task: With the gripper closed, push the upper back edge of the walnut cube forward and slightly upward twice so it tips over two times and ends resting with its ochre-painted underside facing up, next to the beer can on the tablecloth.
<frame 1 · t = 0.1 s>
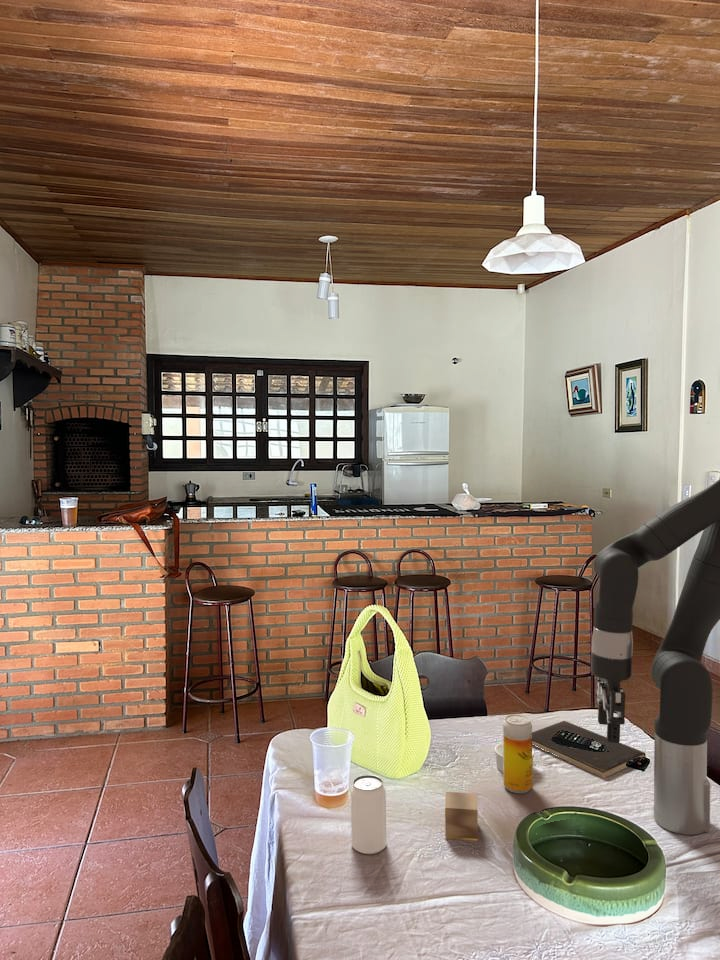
hand: (608, 732, 134), 17 cm above the table, tool pointing down, fingers open, 8 cm apart
hardcover book: (582, 753, 164), on the table
cube: (461, 830, 131), on the table
ramekin: (514, 769, 156), on the table
can: (369, 846, 127), on the table
beer can: (517, 788, 147), on the table
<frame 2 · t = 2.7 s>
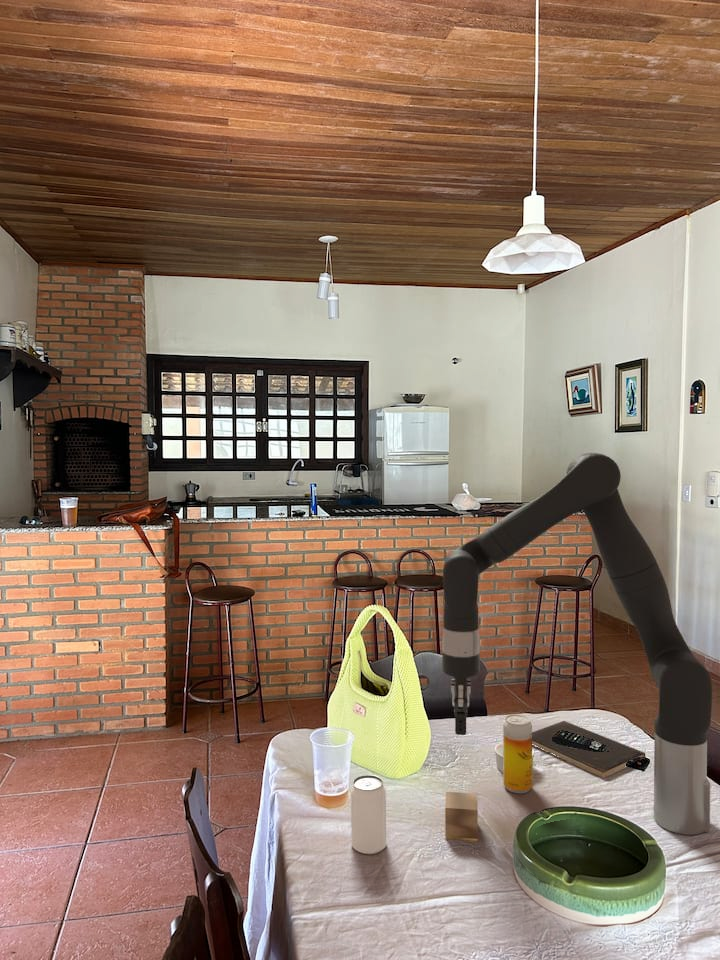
hand: (460, 733, 139), 15 cm above the table, tool pointing down, fingers closed
nothing on the table moved.
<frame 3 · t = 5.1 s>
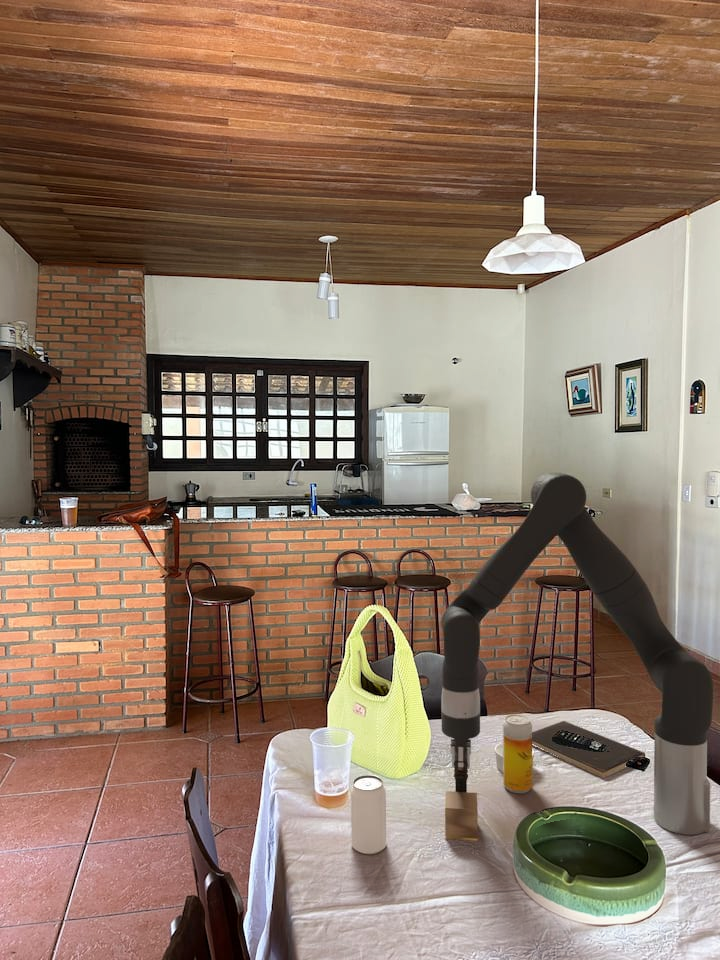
hand: (461, 794, 135), 5 cm above the table, tool pointing down, fingers closed
cube: (461, 830, 131), on the table, touching gripper
everything else where it was.
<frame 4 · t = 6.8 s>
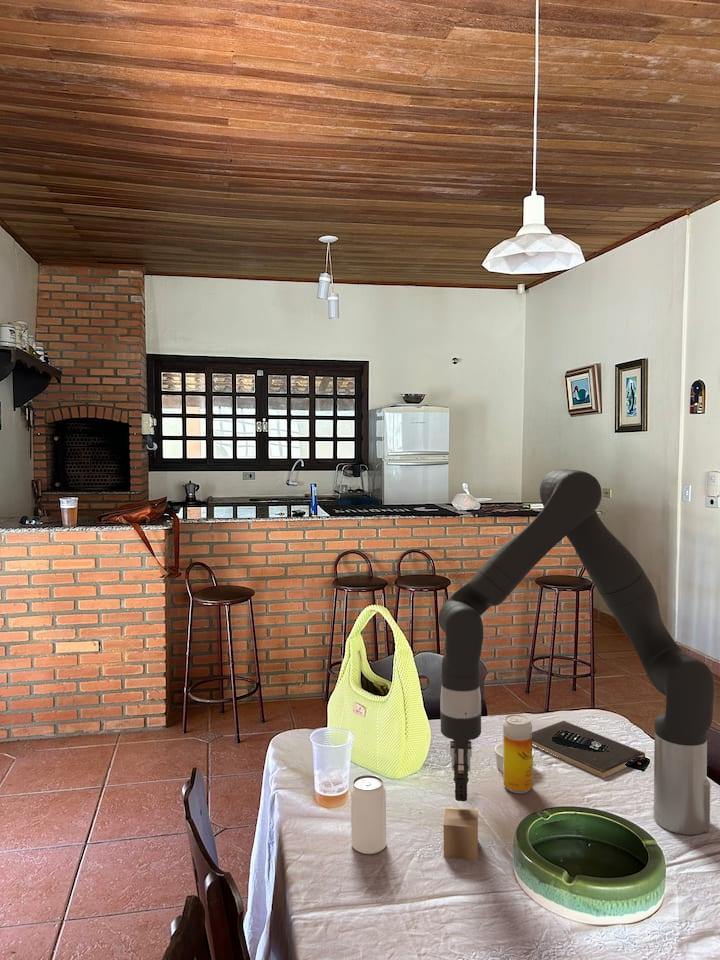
hand: (461, 798, 128), 8 cm above the table, tool pointing down, fingers closed
cube: (461, 824, 128), point 3 cm above the table, tilted 90°
everything else where it was.
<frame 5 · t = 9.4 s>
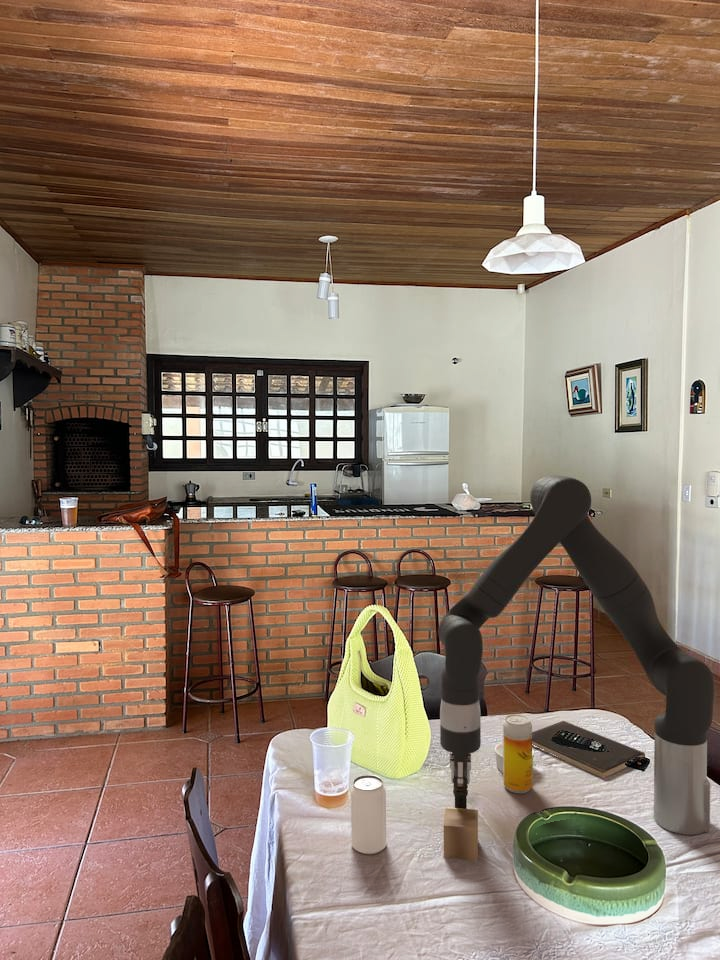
hand: (460, 811, 129), 5 cm above the table, tool pointing down, fingers closed
cube: (461, 823, 128), point 3 cm above the table, tilted 91°, touching gripper
everything else where it was.
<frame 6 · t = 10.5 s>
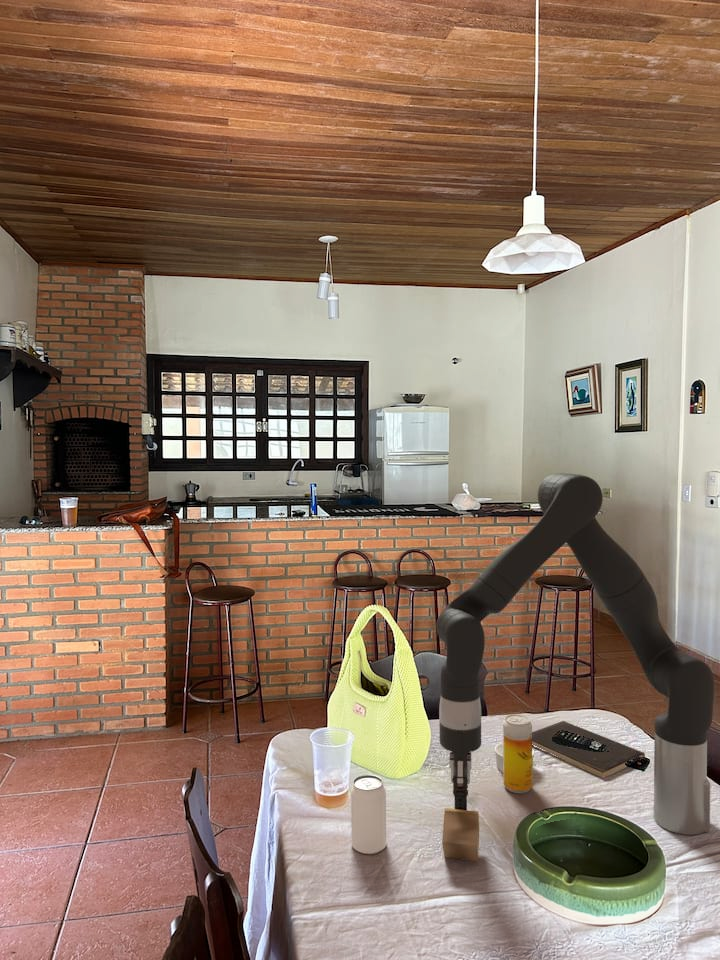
hand: (460, 811, 125), 7 cm above the table, tool pointing down, fingers closed
cube: (462, 818, 125), point 6 cm above the table, tilted 125°, touching gripper
everything else where it was.
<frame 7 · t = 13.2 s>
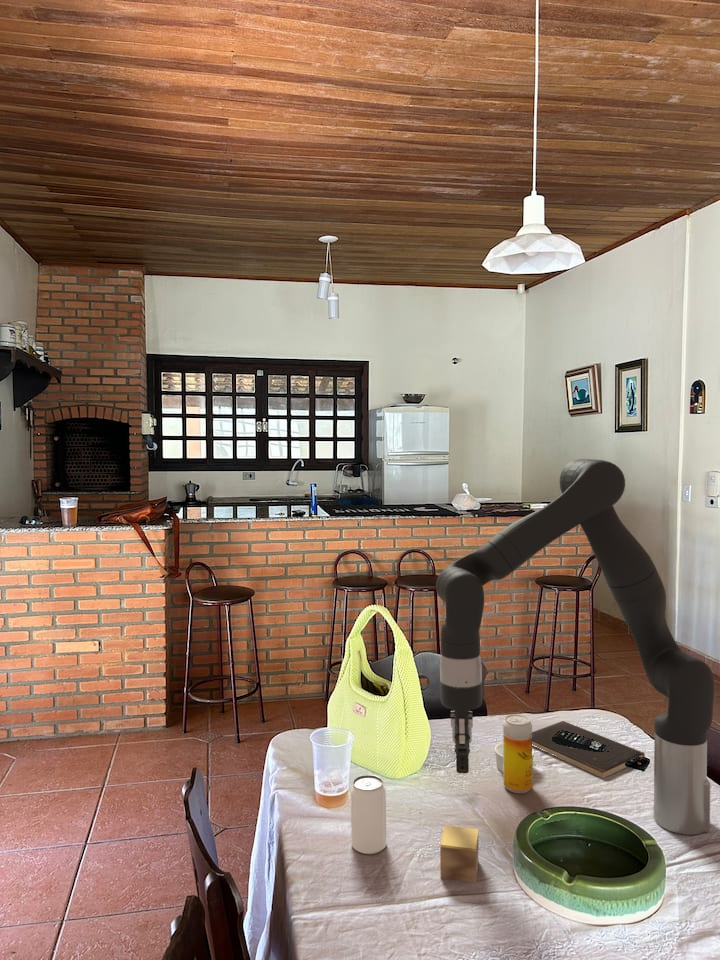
hand: (462, 771, 125), 14 cm above the table, tool pointing down, fingers closed
cube: (459, 836, 119), point 6 cm above the table, tilted 180°
everything else where it was.
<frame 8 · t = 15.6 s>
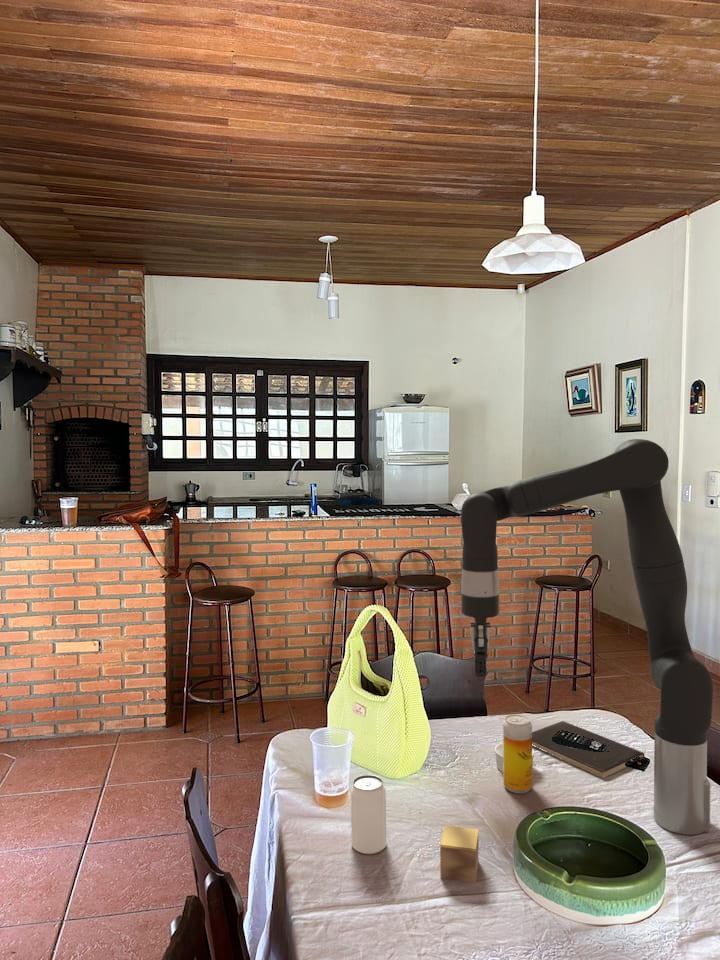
hand: (480, 675, 139), 27 cm above the table, tool pointing down, fingers closed
nothing on the table moved.
at the end: cube tilted 180°; cube inside the target area (0.9 cm from its centre), point 5.9 cm above the table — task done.
